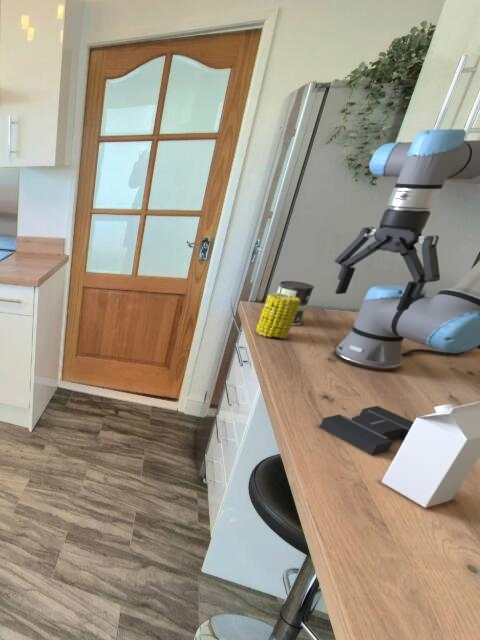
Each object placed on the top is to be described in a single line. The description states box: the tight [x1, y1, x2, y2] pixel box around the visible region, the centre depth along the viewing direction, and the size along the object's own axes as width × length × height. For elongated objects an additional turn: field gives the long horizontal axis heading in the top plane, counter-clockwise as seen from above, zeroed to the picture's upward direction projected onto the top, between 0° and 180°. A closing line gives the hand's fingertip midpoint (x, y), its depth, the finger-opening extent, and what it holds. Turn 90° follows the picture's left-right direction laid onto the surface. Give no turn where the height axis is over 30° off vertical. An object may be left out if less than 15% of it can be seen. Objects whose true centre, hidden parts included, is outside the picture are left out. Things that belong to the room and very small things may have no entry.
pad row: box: [319, 405, 414, 456], centre depth 96 cm, size 18×11×3 cm, turn 107°
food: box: [255, 292, 301, 339], centre depth 147 cm, size 15×12×10 cm
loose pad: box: [350, 413, 404, 441], centre depth 96 cm, size 6×6×3 cm
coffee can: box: [276, 280, 315, 326], centre depth 159 cm, size 10×10×14 cm
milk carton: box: [381, 401, 480, 509], centre depth 76 cm, size 7×7×19 cm
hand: (369, 301), depth 104 cm, fingers open, 13 cm apart
